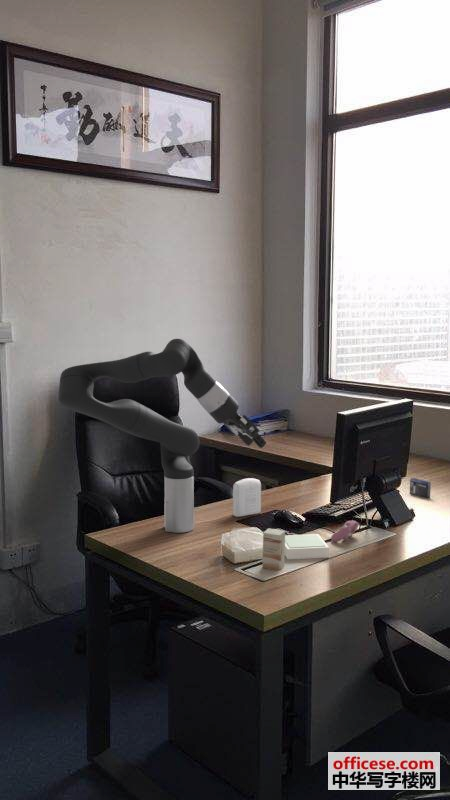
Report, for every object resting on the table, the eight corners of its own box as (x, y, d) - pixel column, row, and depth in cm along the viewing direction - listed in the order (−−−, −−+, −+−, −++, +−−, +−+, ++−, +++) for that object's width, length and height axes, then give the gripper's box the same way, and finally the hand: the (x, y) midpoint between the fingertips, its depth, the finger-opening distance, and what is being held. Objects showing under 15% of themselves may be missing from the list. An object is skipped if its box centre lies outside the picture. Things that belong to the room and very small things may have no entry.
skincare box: (261, 568, 197) (262, 532, 196) (267, 562, 201) (267, 527, 199) (279, 570, 195) (280, 534, 193) (285, 565, 199) (285, 530, 197)
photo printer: (255, 510, 252) (255, 475, 250) (262, 513, 248) (263, 478, 246) (230, 515, 246) (230, 479, 244) (238, 518, 242) (238, 482, 241)
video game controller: (341, 548, 217) (351, 530, 214) (329, 540, 219) (339, 521, 216) (353, 539, 225) (363, 521, 223) (341, 531, 227) (351, 513, 225)
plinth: (287, 559, 203) (287, 548, 203) (278, 545, 215) (278, 535, 215) (329, 557, 205) (329, 546, 205) (317, 543, 217) (318, 533, 216)
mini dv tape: (409, 493, 274) (410, 478, 273) (412, 493, 275) (412, 477, 274) (427, 498, 267) (428, 482, 266) (430, 497, 268) (430, 481, 267)
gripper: (199, 411, 196) (237, 452, 201) (217, 412, 183) (258, 456, 187) (217, 391, 198) (255, 433, 203) (237, 391, 185) (277, 436, 189)
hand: (257, 444), depth 195 cm, fingers open, 8 cm apart
